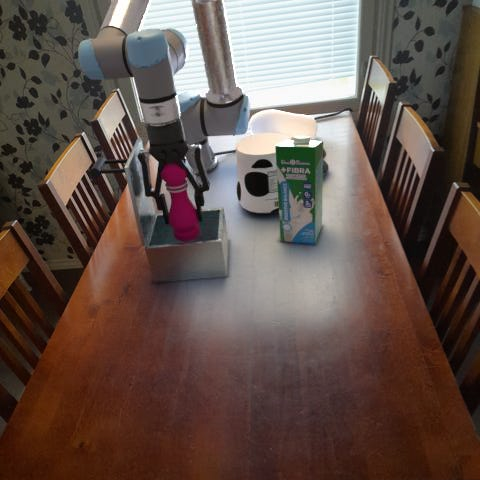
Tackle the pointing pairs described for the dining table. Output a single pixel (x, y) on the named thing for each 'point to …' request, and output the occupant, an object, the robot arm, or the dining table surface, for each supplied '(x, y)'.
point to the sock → (283, 124)
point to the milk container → (258, 172)
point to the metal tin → (188, 249)
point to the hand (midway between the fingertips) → (184, 219)
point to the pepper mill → (180, 204)
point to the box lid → (132, 188)
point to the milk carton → (300, 189)
